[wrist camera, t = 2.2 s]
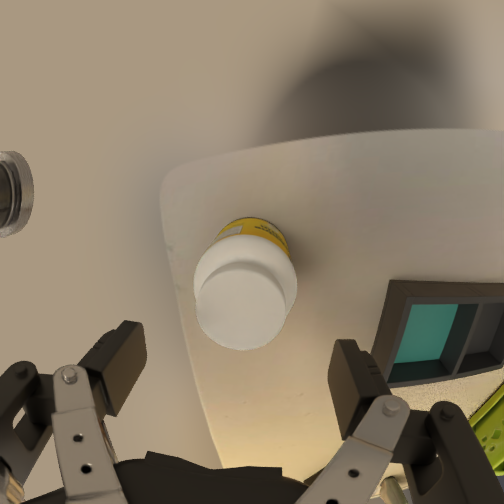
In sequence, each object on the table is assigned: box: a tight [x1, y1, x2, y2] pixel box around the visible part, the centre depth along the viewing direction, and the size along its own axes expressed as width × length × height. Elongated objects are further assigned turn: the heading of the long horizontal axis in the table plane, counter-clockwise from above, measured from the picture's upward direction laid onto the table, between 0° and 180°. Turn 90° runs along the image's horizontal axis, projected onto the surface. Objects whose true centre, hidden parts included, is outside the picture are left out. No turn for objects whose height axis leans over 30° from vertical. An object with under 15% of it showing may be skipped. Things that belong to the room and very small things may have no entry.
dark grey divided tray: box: [371, 280, 504, 389], centre depth 25 cm, size 20×10×4 cm, turn 87°
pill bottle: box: [193, 217, 297, 350], centre depth 20 cm, size 6×6×12 cm
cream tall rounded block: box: [380, 476, 409, 504], centre depth 33 cm, size 6×5×8 cm
